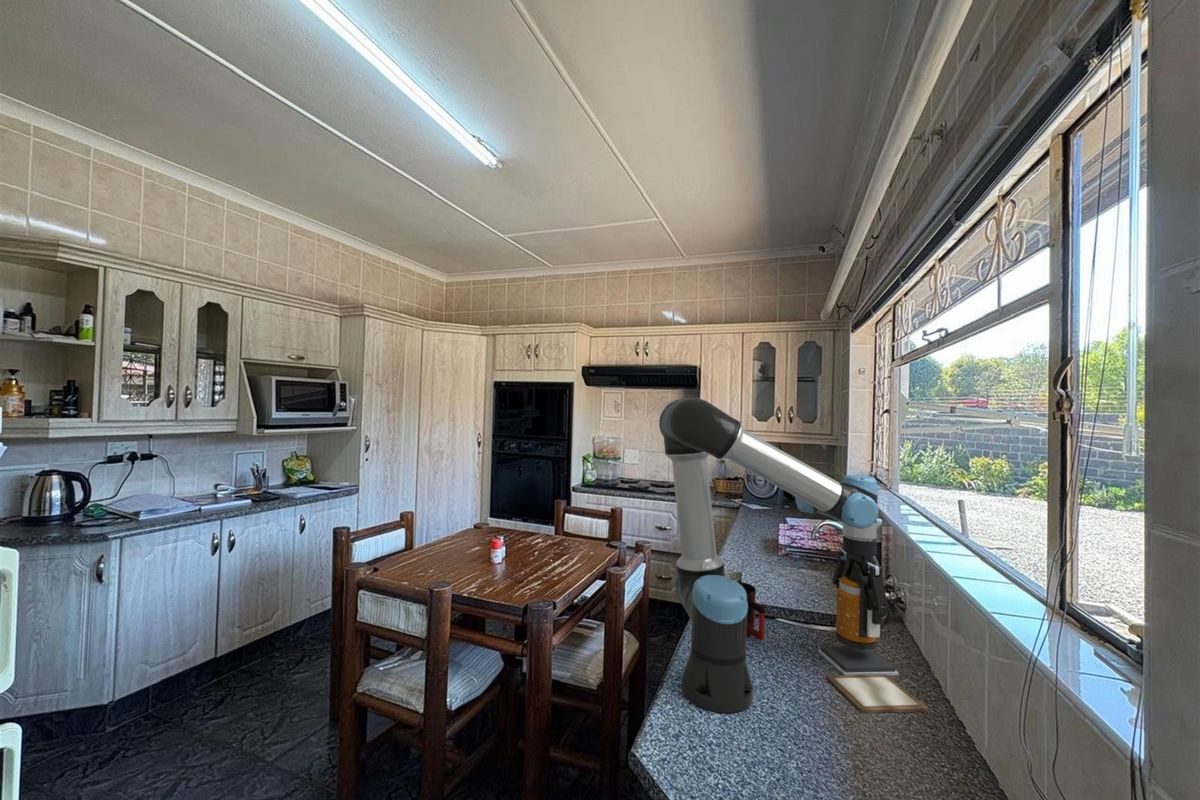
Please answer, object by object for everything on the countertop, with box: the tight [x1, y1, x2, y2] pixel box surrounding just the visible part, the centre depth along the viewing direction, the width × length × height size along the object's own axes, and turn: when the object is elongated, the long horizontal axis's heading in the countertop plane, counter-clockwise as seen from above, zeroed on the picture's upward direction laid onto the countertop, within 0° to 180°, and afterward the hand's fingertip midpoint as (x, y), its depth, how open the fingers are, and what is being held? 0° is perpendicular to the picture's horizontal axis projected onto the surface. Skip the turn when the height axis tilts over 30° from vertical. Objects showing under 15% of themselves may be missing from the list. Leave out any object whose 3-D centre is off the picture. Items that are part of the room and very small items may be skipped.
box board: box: [825, 674, 930, 714], centre depth 106 cm, size 15×13×1 cm
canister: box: [835, 570, 878, 650], centre depth 120 cm, size 9×11×20 cm
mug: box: [735, 580, 766, 642], centre depth 135 cm, size 10×14×12 cm
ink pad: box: [817, 645, 900, 676], centre depth 120 cm, size 14×12×2 cm
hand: (857, 625), depth 120 cm, fingers closed on canister, 11 cm apart
